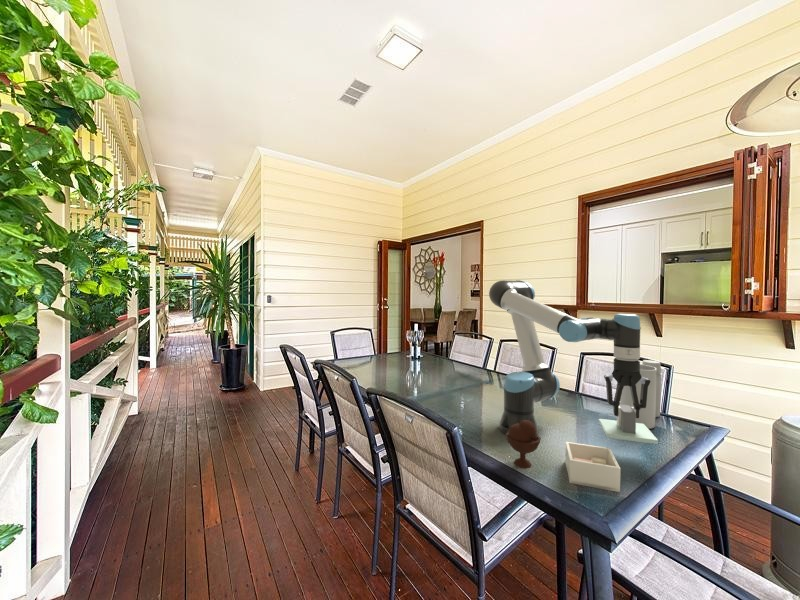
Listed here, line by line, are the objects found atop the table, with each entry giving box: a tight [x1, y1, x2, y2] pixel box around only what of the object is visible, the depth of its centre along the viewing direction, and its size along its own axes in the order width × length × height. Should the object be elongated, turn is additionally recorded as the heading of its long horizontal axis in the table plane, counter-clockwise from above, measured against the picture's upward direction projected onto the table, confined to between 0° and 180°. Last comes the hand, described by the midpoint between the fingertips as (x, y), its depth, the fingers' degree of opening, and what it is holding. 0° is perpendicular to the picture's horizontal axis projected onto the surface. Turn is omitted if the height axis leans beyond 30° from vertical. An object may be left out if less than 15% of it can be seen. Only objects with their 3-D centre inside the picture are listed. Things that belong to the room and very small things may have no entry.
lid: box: [598, 403, 659, 444], centre depth 115 cm, size 14×14×9 cm
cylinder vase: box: [619, 363, 657, 430], centre depth 144 cm, size 12×12×25 cm
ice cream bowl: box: [505, 420, 542, 469], centre depth 111 cm, size 11×11×15 cm
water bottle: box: [641, 359, 663, 418], centre depth 154 cm, size 9×8×25 cm
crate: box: [564, 441, 622, 493], centre depth 104 cm, size 13×13×7 cm
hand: (626, 425), depth 115 cm, fingers closed on lid, 3 cm apart
